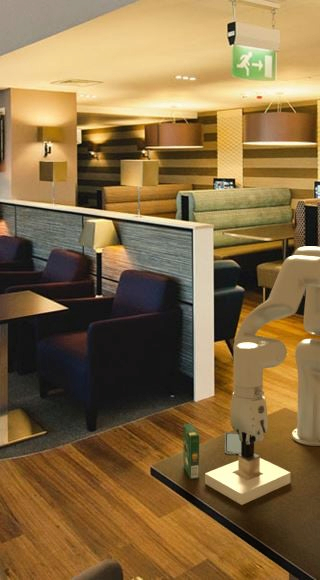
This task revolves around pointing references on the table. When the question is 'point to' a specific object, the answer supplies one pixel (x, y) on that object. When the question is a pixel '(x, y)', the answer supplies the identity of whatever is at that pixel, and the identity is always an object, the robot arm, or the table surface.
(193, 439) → the coffee box
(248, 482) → the socket plate
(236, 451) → the smartphone
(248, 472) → the plug
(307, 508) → the table surface
